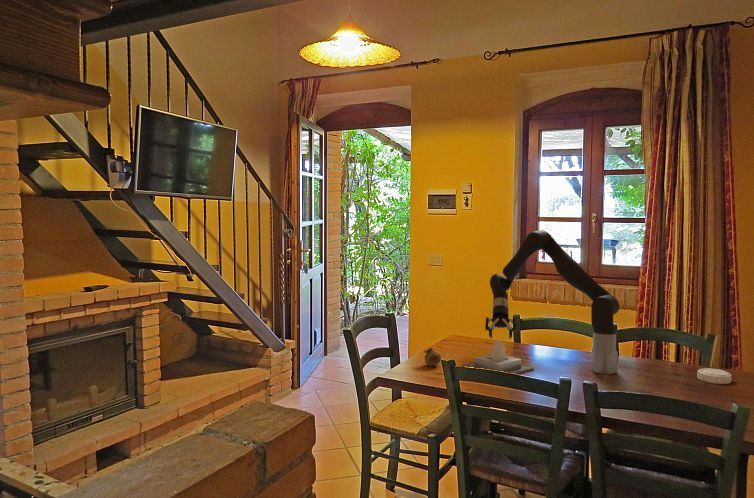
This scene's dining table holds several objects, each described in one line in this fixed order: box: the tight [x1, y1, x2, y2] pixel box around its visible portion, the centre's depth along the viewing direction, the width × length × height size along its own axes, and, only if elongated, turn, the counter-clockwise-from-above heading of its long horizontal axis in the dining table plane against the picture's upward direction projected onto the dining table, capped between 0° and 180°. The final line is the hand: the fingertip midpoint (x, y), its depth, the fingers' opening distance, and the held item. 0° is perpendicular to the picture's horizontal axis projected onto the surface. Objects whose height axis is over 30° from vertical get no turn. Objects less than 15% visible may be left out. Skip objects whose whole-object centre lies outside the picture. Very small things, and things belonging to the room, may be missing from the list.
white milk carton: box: [491, 339, 506, 362], centre depth 240 cm, size 6×12×6 cm
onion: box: [423, 347, 442, 367], centre depth 244 cm, size 8×8×8 cm
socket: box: [461, 353, 535, 375], centre depth 240 cm, size 22×22×4 cm
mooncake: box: [696, 367, 732, 385], centre depth 223 cm, size 12×12×4 cm
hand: (500, 337), depth 251 cm, fingers open, 8 cm apart
